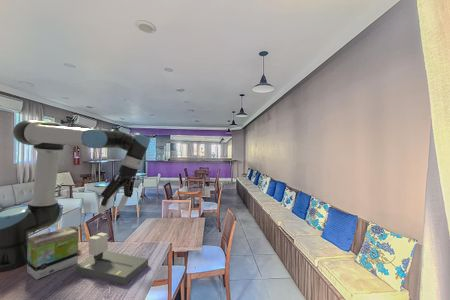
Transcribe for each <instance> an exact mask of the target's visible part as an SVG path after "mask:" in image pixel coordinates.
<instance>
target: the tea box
mask: <svg viewBox="0 0 450 300" xmlns="http://www.w3.org/2000/svg"><path fill="white" fill-rule="evenodd" d="M66 227H67V228H65V227H63V228H64V229H62V228H60V230H59V229H57V230H53V231H49V232H46V233H41V234H38V235H34V236H29V238H28V250H27V263H26V272H27V274H29V275H30V276H31V277H32V278H34V279H35V280H37V281H38V280H40V279H41V278H43V277H46V276H49V275H51V274H53V273H56V272H59V271H61V270H63V269H66V268H69V267H71V266H75V265H78V261H79V230H78V231H75V230H73V229H71V228H69V227H70V226H66Z"/></svg>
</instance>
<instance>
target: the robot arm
mask: <svg viewBox="0 0 450 300" xmlns="http://www.w3.org/2000/svg"><path fill="white" fill-rule="evenodd" d="M12 134H13V137H14V139H15V140H16V141H17V142H18V143H20V144H23V145H27V146H33V149H34V150H35V151H36V162H35V170H34V171H35V172H34V173H35V174H34V183H33V193H32V199H30V200H29V201H28V202H27V206H26V207H25V206H20V207H14V208H8V209H5V210H2V211H0V272H2V273H3V272H6V271H11V270H13V269H16V268H19V267H22V266H24V265H27V250H28V238H30V235H29V234H31V233H32V234H33V233H35V232H36V231H37V232H38V231H40V230H43V229H45V228H48V227H51V226H53V225H54V224H56V223H58V222H59V221H60V219H61V218H62V216H63V207H62V205H61V204H60V203H59V201H58V199H57V198H56V197H55V196H56V187H57V179H58V178H57V177H58V169H59V158H60V153H61V152H63V151H64V146H73V147H77V146H78V147H84V148H85V147H86V148H89V149H91V148H92V149H110V148H112V149H116V148H117V149H121V150H123V151H126V153H125V155H124V157H123V160H122V161H121V163H122V164H121V165H120V166H119V169H118V172H119V175H117V174H114V175H113V177H112V179H111V180H110V182H109V183H108V184H107V186H106V187H105V188H104V189H103V191H102V192H101V194H100V196H101V197H103V198H102V201H101V202H100V205H99V207H98V210H97V213H99V214H102V215H104V214H105V213H106V211H107V208H108V207H109V204H110V202H111V200H112V199H111V197H113V195H114V194H115V193H116V192H117V191H118V190H119V189H120V188H123V194H122V196H121V198H120V201H119V203H118V205H117V209H118V210H120V211H123V210H124V209H125V206H126V204H127V201H128V199H129V198H132V196H133V193H134V188H135V187H134V186H135V181H136V176H137V173H138V172H139V168H140V167H141V165H142V161H143V160H144V156H145V155H146V151H147V150H148V148H149V145H150V143H151V138H150V137H148V136H146V135H144V134H141V133H139V132H135V133H134V134H133V135H131V134H128V133H126V132H123V131H121V130H118V129H115V128H112V129H111V128H110V129H109V130H107V129H99V128H83V127H82V128H81V127H71V126H69V127H68V126H66V125H65V124H62V123H59V122H52V121H42V120H35V119H33V120H31V119H27V120H26V119H25V120H22V121H20V122H18V123H17V124H15V126H14V127H13V129H12Z"/></svg>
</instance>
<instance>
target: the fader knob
mask: <svg viewBox="0 0 450 300" xmlns="http://www.w3.org/2000/svg"><path fill="white" fill-rule="evenodd" d="M108 236H109V235H108V233H105V232H99V233H97V234H94V235H92V236H90V237H89V238H88V255H91V256H94V259H95V260H99V259H101V258H103V251H108V249H109V248H108V247H109V246H108V245H109V243H108V241H109V239H108V238H109V237H108Z"/></svg>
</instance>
